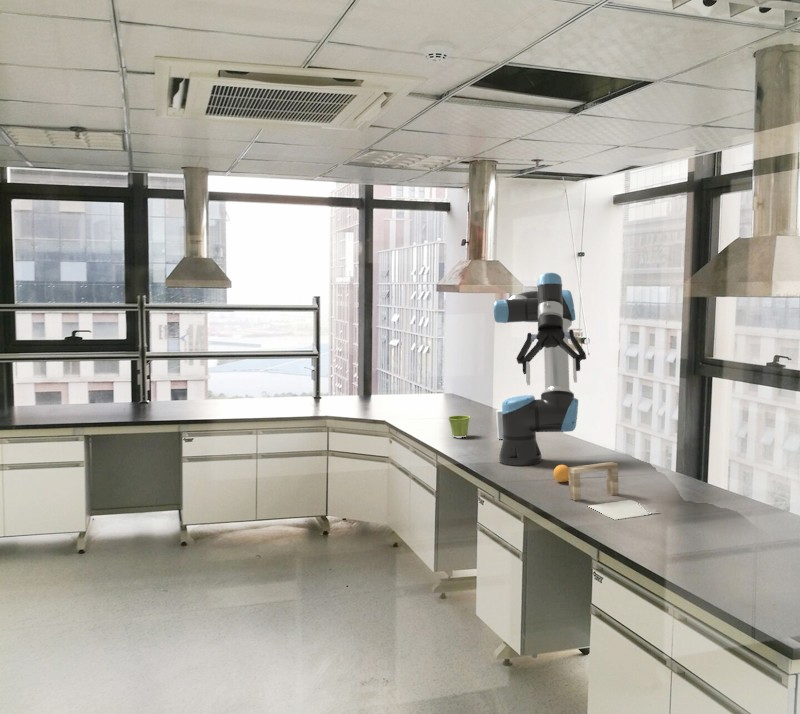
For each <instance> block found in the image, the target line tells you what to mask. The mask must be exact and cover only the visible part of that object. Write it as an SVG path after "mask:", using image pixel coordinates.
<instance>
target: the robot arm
mask: <svg viewBox="0 0 800 714" xmlns="http://www.w3.org/2000/svg"><path fill="white" fill-rule="evenodd" d="M562 283H563V281H562V277H561V276H560V275H559V273H555V272H545V273H542V274H541V275H540V276H538V278H537V284H536V286H537V290H536V291H533V290H532V291H531V290H530V291H525V292H521V293H518V294H516V295H512V296H510V298H508V299H498V300H495V301H494V303H493V318H494V322H495V323H497V324H498V323H499V324H500V323H501V324H506V323H521V322H523V323H524V322H525V323H537V333H536V334H535V333H534V334H533V333H532V332H528V333H527V335H526V340H525V342H524V344H523V346H522V347H521V349H520V351H519V352H518V355H517V356H516V362H517V363H518V365H519V364H520V365H522V372H523V374H524V375H525V376H526V377H525V378H526V384H527V386H530V385H531V365H530V362H531V361H532V360H533V359H534V358H535V357H536V355H537V354H538V353H540V351H542V350H543V348H544V351H543V353H544V354H543V355H544V356H543V357H544V358H543V359H544V391H543V392H541V393H540V398H539V399H536V398H535V396H534V395H532V394H530V395H528V394H527V395H519V396H514V397H509V398H507V399H505V400H504V401H502V403H501V410H502V419H503V440H502V444H501V447H500V451H499V455H498V459H499V460H498V462H499V461H500V462H501V464H503V463H504V464H503V465H507V464H508V466H531V465H536V464H539V463H541V462H542V459H543V456H542V453H541V450H540V447H539V444H538V442H537V436H536V435H537V434H536V433H565V432H573V431H574V430H575V429H576V426H577V421H578V412H579V411H578V410H579V399H577V397H575V393H574V392H573V391H571V390H570V370H569V369H570V368H569V365H570V363H569V361H570V360H569V356H570V357H571V358H572V375H573V376H572V377H573V383H575V384H576V383H577V382H578V376H577V374H578V373H577V372H580V371H581V361H583V360H584V361H585V360H587V355H586V351H585V350H584V348H583V347H582V345H580V343H579V341H578V340H577V338H576V336H575V334H574V333H575V332H574V330H573V329H570V327H571V326H572V322H574V321H575V320H576V311H575V305H574V299H573V294H572V292H571V291H570V290H568V289H563V284H562ZM535 340H537V341H536V344H535V345H534V346H533V347H532V348H531V346H532V344H533V343H534V341H535ZM569 340H570V341H571V344H572V345H573V347H574V349H576V351H577V352H576V351H575V350H574V349H573V348H571V347H570V346H569ZM530 348H531V349H530ZM529 349H530V350H529ZM528 351H529V352H528ZM500 462H499V463H500Z"/></svg>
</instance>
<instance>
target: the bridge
mask: <svg viewBox="0 0 800 714" xmlns="http://www.w3.org/2000/svg"><path fill="white" fill-rule="evenodd" d="M605 470H606V493H607V494H608V493H609V494H608V495H610V494H611V495H610V496H618V495H617V494H619V493H620V492H619V464H618V463H616V462H613V461H610V462H609V461H608V462H602V463H593V464H586V465H584V464H583V465H578V466H576V465H575V466H570V467H568V471H569V480H568V490H569V491H568V494H569V495H568V496H569V499H570V498H571V499H570V500H572V499H573V500H572V501H574V500H578V501H581V499H582V498H581V493H582V492H581V474H583V473H589V472H598V471H605Z"/></svg>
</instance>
